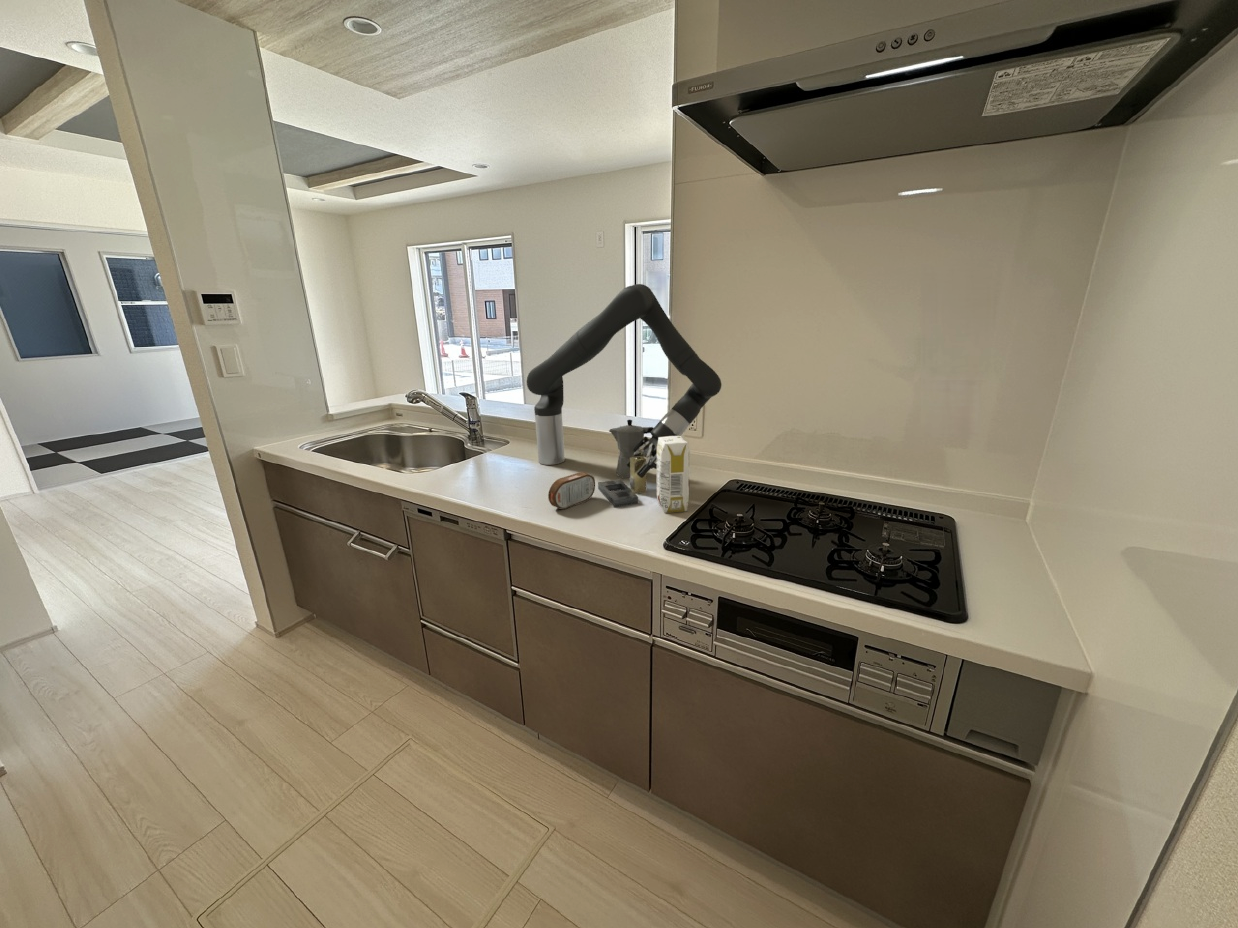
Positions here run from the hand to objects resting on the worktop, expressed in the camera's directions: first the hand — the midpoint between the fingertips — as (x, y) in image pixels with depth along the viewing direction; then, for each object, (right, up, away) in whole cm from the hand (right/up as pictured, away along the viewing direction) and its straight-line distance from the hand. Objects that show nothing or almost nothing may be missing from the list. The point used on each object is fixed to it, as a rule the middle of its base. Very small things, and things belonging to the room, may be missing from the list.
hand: (633, 471), depth 140 cm
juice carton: (+10, -10, -10) cm, 17 cm away
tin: (-17, -9, -6) cm, 20 cm away
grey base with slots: (-5, -7, -1) cm, 9 cm away
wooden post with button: (+1, -6, +2) cm, 6 cm away
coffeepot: (+1, -1, +16) cm, 16 cm away
